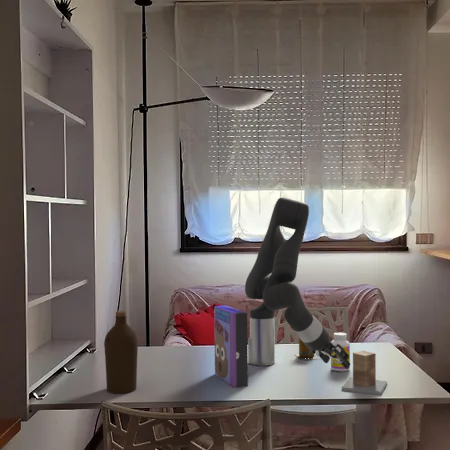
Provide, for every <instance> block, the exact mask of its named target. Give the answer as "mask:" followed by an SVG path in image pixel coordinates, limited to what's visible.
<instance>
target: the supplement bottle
mask: <svg viewBox="0 0 450 450" xmlns="http://www.w3.org/2000/svg"><path fill="white" fill-rule="evenodd" d="M347 338H348V334H347V333H346V332H334V333H333V340H331V342H332V343H333V345H334V346H336V345H337V344H339V345H340V346H341V347H342V348H343V349H344V350H345V351H346V352H347V354H348V355H349V358H348V359H347V360H348V361H349V362H350V363H351V359H350V357H351V356H350V355H351V352H350V348H351V347H350V346H351V344H350V341H348V340H347ZM334 354H335V353H334V351H333V353H332V354H331V355H333V356H334ZM337 357H338V356H337ZM338 358H339V357H338ZM339 359H340V358H339ZM350 368H351V365H350V366H349V368H348V369H345V368H344V367H343V366H342V364H341V363H340V362H339V361H337V360H336V359H332V358H331V357H330V370H332V371H334V372H342V373H343V372H349V370H350Z"/></svg>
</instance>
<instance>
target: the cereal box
mask: <svg viewBox="0 0 450 450" xmlns="http://www.w3.org/2000/svg"><path fill="white" fill-rule="evenodd" d="M213 311H214V314H213V315H214V323H213V324H214V375H215V376H217V377H218V378H219V379H221V380H222V381H224V382H225V383H226V384H228V385H229V386H231V387H232V388H233V389H237V388H244V387H248V386H249V385H248V384H249V377H248V374H249V373H248V371H249V369H248V368H249V367H248V366H249V365H248V364H249V363H248V313H247V312H245V311H243V310H240V309H237V308H234V307H232V306H229V305H223V304H221V305H216V306H214V310H213Z"/></svg>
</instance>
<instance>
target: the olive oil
mask: <svg viewBox="0 0 450 450" xmlns="http://www.w3.org/2000/svg"><path fill="white" fill-rule="evenodd" d="M103 343H104V345H103V346H104V358H105V375H106V376H105V378H106V391H107V392H108V393H112V394H126V393H127V394H129V393H132V392H134V391H136V390H137V387H138V386H137V383H138V382H137V381H138V380H137V375H138V350H139V349H138V348H139V346H138V345H139V338H138V336H137V334H136V332H135V330H134V329H132V327H131V326H130V325H129V324H128V323H127V311H125V310H118V311H115V323H114V325H113V326H112V327H111V329H109V330H108V331H107V333H106V334H105V337H104V341H103Z"/></svg>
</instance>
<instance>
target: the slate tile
mask: <svg viewBox="0 0 450 450" xmlns="http://www.w3.org/2000/svg"><path fill="white" fill-rule="evenodd" d="M387 385H388V381H386V380H380V379H379V380H377V379H376V385H373V386H369V387H362V386H358V385H355V384H353V376H352V377H351V376H350V377H349V378H348V379H347V380H346V381H345V383H344V384H343V385H342V387H341V391H342V392H343V391H345V392H353V393H361V394H362V393H363V394H369V395H379V396H381V395H382V394H383V392H384V391H385V388H386V387H387Z"/></svg>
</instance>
